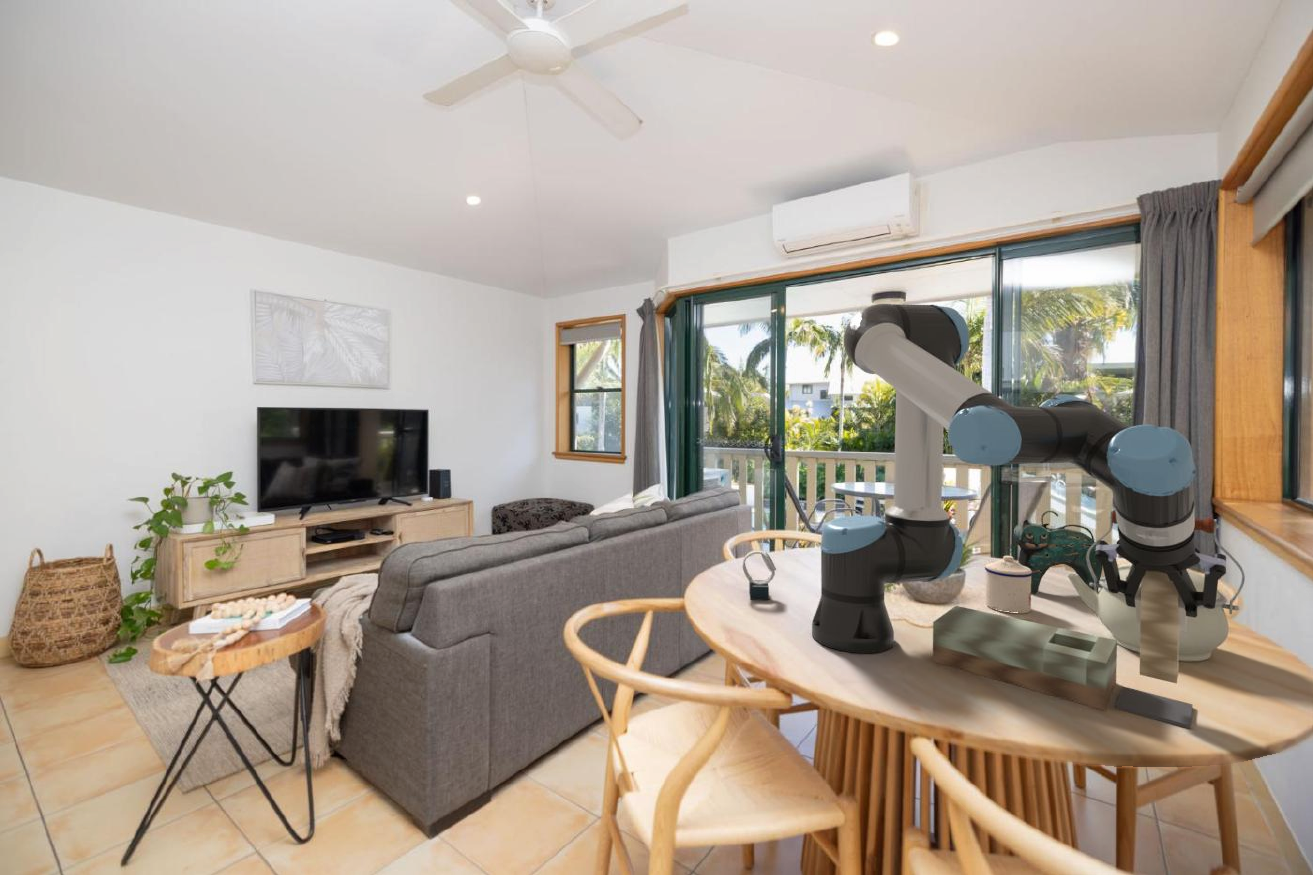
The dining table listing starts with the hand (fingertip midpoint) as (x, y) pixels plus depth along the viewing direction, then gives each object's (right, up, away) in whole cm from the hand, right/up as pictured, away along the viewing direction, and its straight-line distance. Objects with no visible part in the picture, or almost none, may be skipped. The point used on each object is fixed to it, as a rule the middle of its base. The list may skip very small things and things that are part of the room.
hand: (1161, 619), depth 85 cm
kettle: (+16, -12, +22) cm, 30 cm away
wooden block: (-3, -7, -2) cm, 8 cm away
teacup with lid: (+3, -11, +44) cm, 45 cm away
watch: (-51, -11, +51) cm, 74 cm away
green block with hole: (-15, -12, +10) cm, 22 cm away
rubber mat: (-3, -13, -2) cm, 13 cm away
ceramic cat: (+22, -11, +54) cm, 59 cm away
